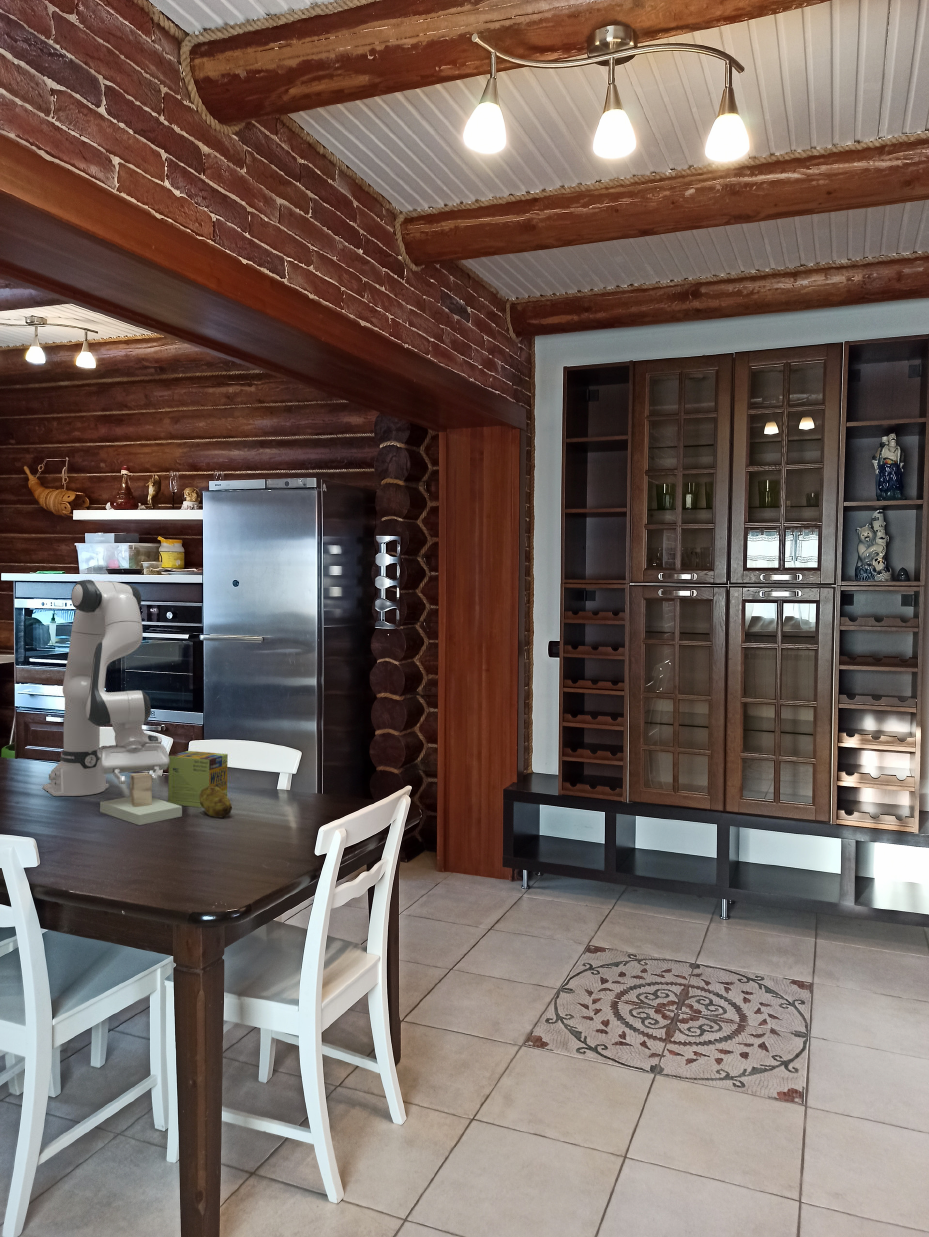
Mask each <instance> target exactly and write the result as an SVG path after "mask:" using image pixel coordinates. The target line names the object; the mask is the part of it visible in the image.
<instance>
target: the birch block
mask: <svg viewBox="0 0 929 1237" xmlns="http://www.w3.org/2000/svg"><path fill="white" fill-rule="evenodd" d="M129 777H130V778H129V785H130V786H129V794H130V795H129V797H130V804H131V805H133V806H134V807H139V806H147V805H152V797H153V794H152V791H153V790H152V788H153V787H152V786H153V785H152V784H153V782H152V774H150V773H149V772H148V771H145V772H134V773H130V774H129Z"/></svg>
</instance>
